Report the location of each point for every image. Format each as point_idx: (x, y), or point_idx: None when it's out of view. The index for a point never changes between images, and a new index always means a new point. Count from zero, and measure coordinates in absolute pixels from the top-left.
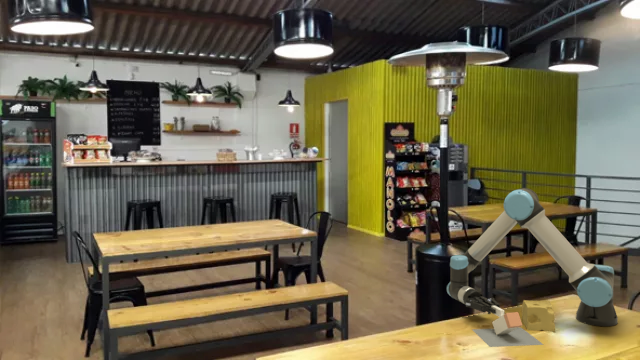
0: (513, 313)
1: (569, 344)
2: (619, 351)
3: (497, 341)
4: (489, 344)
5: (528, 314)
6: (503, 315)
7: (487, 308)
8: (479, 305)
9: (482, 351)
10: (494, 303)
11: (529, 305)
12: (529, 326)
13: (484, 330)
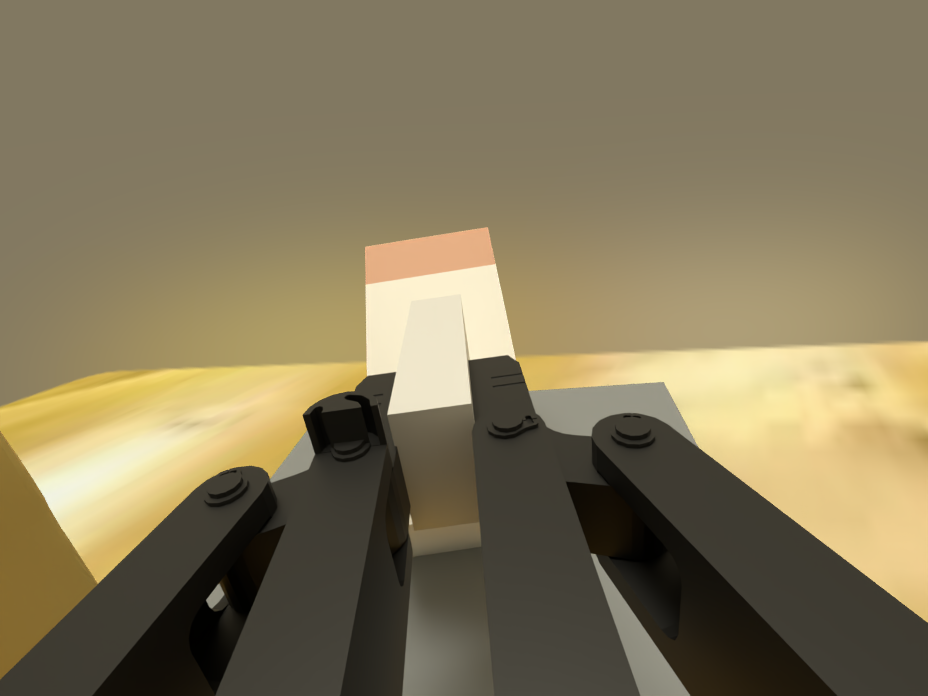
0: (417, 244)
1: (181, 428)
2: (103, 384)
3: (583, 434)
4: (659, 402)
5: (34, 484)
6: (495, 270)
7: (563, 448)
8: (770, 525)
9: (717, 369)
10: (357, 406)
11: None
12: None
13: (641, 693)
